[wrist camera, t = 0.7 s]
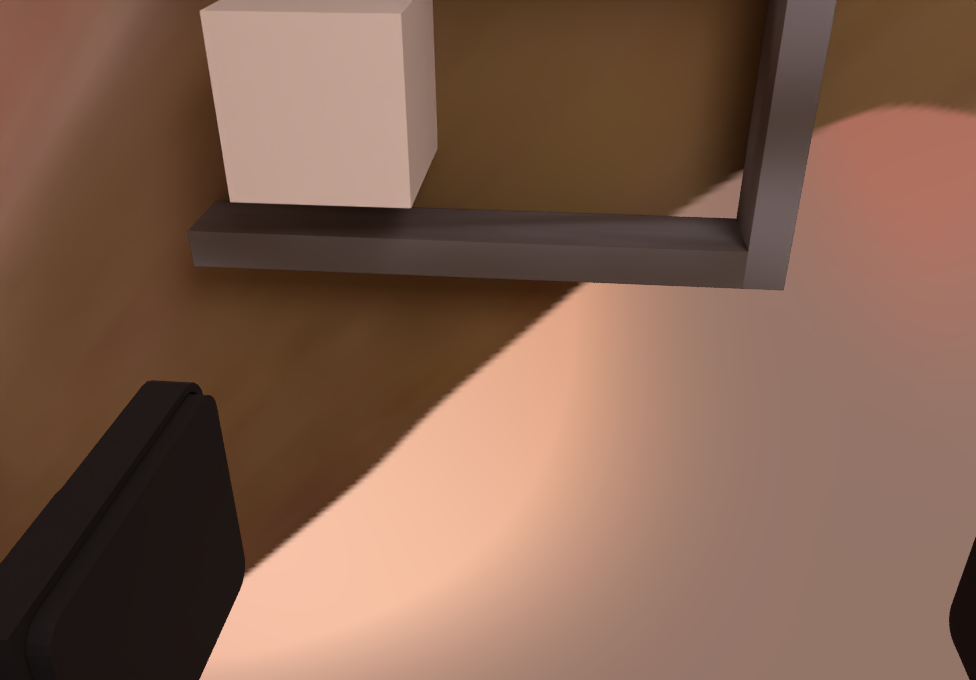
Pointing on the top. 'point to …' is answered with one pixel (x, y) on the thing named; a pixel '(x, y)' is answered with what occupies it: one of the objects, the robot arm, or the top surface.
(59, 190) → the top surface
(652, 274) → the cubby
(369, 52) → the blank block
